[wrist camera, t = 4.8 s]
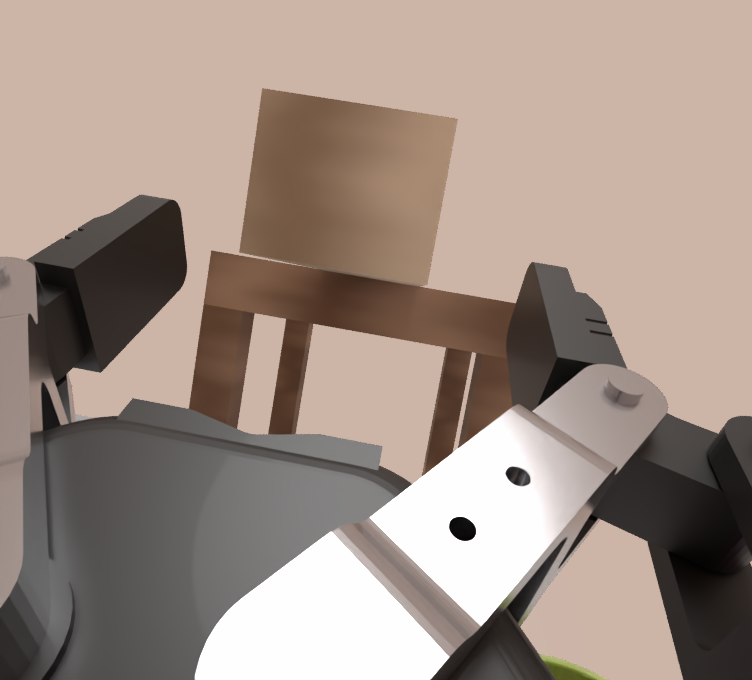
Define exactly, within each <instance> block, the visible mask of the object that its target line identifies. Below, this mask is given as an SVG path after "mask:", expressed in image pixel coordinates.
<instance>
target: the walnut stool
mask: <svg viewBox="0 0 752 680" xmlns="http://www.w3.org/2000/svg"><path fill="white" fill-rule="evenodd" d="M515 305H516V303H510V302H504V301H498V300H492V299H487V298H481V297H475V296H470V295H464V294H458V293H452V292H446V291H441V290H435V289H429V288H423V287H418V286H412V285H406V284H400V283H395V282H389V281H383V280H377V279H372V278H366V277H360V276H354V275H349V274H343V273H337V272H331V271H326V270H320V269H314V268H308V267H303V266H297V265H291V264H285V263H279V262H274V261H268V260H262V259H256V258H251V257H245V256H239V255H233V254H228V253H222V252H216V251H211V257H210V264H209V271H208V278H207V285H206V292H205V299H204V306H203V313H202V321H201V328H200V335H199V342H198V349H197V356H196V363H195V370H194V377H193V384H192V391H191V398H190V405H189V409H191V410H194V411H197V412H199V413H201V414H203V415H206V416H208V417H210V418H213V419H215V420H217V421H220V422H222V423H224V424H227V425H229V426H231V427H233V428H236V429H237V424H238V418H239V412H240V405H241V398H242V392H243V385H244V378H245V372H246V365H247V359H248V353H249V346H250V339H251V332H252V325H253V319H254V313H257V314H263V315H269V316H274V317H279V318H285V319H286V326H285V331H284V338H283V345H282V350H281V357H280V363H279V369H278V376H277V382H276V388H275V395H274V401H273V407H272V414H271V420H270V426H269V433H268V435H285V434H295V433H296V427H297V421H298V415H299V408H300V402H301V396H302V390H303V384H304V378H305V372H306V366H307V360H308V353H309V347H310V341H311V335H312V329H313V324H319V325H324V326H330V327H335V328H341V329H346V330H352V331H358V332H363V333H369V334H375V335H380V336H386V337H391V338H397V339H402V340H408V341H413V342H419V343H425V344H430V345H435V346H442V347H446V351H445V357H444V362H443V367H442V373H441V378H440V383H439V389H438V394H437V399H436V404H435V410H434V415H433V420H432V426H431V431H430V436H429V442H428V447H427V452H426V458H425V463H424V468H423V473H422V477H423V476H424V475H426V474H427V473H428V472H429V471H431V470H432V469H433V468H435V467H436V466H437V465H438V464H440V463H441V462H442V461H444V460H445V459H446V458H447V457H449V456H450V455H451V454H452V452H453V447H454V441H455V437H456V432H457V426H458V421H459V416H460V411H461V406H462V401H463V395H464V390H465V385H466V380H467V375H468V370H469V364H470V359H471V354H472V352H475V353H476V358H475V363H474V368H473V374H472V379H471V384H470V389H469V394H468V400H467V405H466V410H465V415H464V420H463V425H462V430H461V435H460V441H459V446H458V449H459V448H460V447H462V446H463V445H464V444H465V443H467V442H468V441H469V440H470V439H472V438H473V437H474V436H476V435H477V434H478V433H479V432H481V431H482V430H483V429H485V428H486V427H487V426H488V425H490V424H491V423H492V422H494V421H495V420H496V419H497V418H499V417H500V416H501V415H503V414H504V413H505V412H506V411H508V410H509V409H510V408H512V407H513V406H512V397H511V388H510V379H509V370H508V361H507V352H506V339H507V333H508V328H509V324H510V320H511V317H512V314H513V311H514V308H515Z"/></svg>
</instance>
